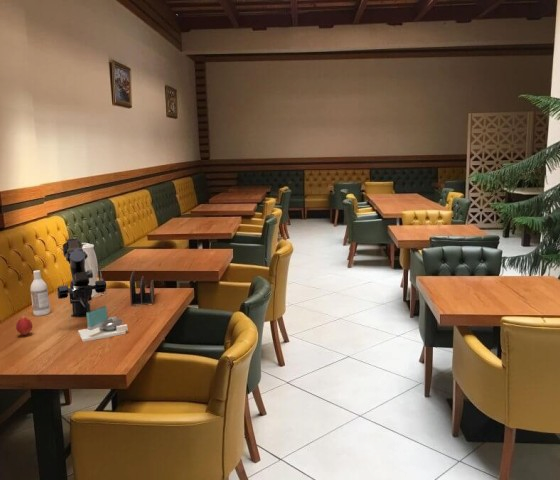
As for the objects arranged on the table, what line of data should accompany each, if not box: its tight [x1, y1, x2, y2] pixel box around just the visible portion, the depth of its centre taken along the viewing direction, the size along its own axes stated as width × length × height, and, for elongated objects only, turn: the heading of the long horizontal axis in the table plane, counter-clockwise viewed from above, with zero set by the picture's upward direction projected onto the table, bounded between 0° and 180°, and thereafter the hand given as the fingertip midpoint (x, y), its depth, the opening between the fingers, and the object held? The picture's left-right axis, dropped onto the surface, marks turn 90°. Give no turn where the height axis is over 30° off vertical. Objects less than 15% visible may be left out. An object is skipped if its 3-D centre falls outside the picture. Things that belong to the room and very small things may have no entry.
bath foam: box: [30, 269, 51, 317], centre depth 233 cm, size 7×7×20 cm
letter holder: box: [129, 270, 156, 307], centre depth 249 cm, size 10×20×14 cm, turn 11°
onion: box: [15, 315, 33, 336], centre depth 205 cm, size 6×6×8 cm
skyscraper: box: [81, 242, 105, 297], centre depth 260 cm, size 8×8×28 cm
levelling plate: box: [77, 324, 129, 343], centre depth 205 cm, size 17×12×3 cm
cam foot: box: [86, 305, 123, 330], centre depth 204 cm, size 15×9×9 cm, turn 152°
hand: (85, 306), depth 208 cm, fingers closed
